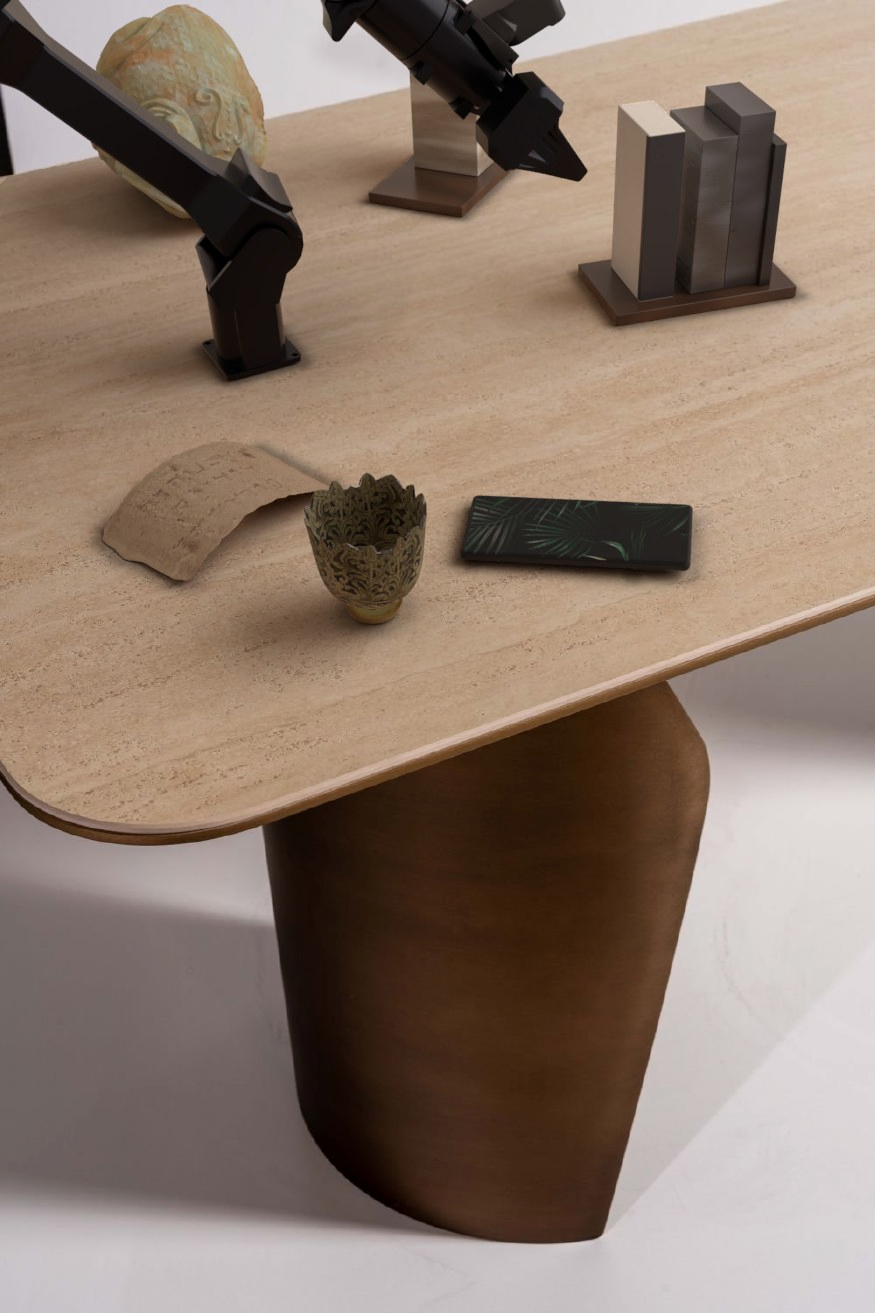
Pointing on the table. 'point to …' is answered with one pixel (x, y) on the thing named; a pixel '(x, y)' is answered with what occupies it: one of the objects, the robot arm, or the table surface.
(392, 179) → the white book shelf
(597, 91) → the table surface
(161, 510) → the clay tablet
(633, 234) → the white book
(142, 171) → the robot arm
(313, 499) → the cup
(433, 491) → the table surface
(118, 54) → the sculpture
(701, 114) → the grey book shelf
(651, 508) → the smartphone
